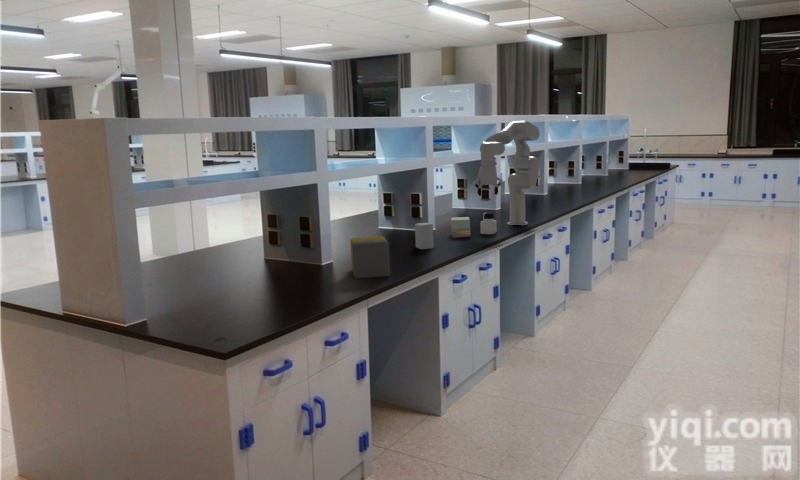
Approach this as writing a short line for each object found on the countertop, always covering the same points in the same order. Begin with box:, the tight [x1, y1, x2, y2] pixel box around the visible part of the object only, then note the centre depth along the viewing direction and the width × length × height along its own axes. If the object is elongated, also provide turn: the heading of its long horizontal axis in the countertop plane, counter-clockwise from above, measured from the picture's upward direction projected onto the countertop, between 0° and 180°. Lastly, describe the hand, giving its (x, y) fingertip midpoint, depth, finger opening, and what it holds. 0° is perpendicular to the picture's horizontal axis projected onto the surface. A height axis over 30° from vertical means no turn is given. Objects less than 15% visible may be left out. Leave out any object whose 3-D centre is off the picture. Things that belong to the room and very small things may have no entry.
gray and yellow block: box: [350, 235, 391, 280], centre depth 268 cm, size 15×24×15 cm, turn 9°
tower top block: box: [450, 216, 471, 230], centre depth 348 cm, size 10×10×5 cm
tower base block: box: [451, 227, 471, 238], centre depth 349 cm, size 10×10×5 cm
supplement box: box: [414, 222, 435, 250], centre depth 316 cm, size 7×7×13 cm
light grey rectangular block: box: [480, 211, 498, 235], centre depth 351 cm, size 7×7×12 cm
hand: (487, 195), depth 348 cm, fingers open, 9 cm apart
